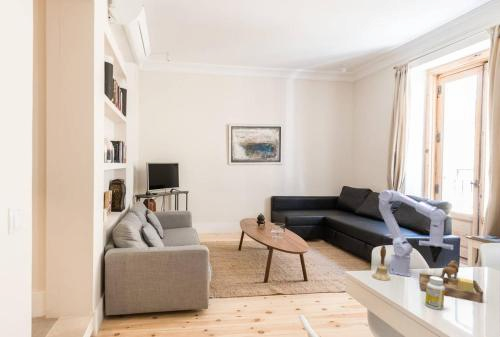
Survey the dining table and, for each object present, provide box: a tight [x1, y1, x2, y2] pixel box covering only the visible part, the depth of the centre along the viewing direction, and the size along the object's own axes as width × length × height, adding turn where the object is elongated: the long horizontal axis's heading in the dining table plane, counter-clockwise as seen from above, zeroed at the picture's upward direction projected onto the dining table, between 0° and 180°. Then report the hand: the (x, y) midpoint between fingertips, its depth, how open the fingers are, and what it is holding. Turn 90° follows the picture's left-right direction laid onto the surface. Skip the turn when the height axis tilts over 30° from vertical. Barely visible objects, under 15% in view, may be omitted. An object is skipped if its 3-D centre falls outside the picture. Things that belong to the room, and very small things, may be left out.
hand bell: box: [371, 245, 391, 282], centre depth 162 cm, size 8×8×16 cm
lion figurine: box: [440, 260, 460, 279], centre depth 165 cm, size 15×5×9 cm, turn 132°
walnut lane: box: [418, 272, 484, 304], centre depth 150 cm, size 23×16×4 cm
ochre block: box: [457, 277, 474, 292], centre depth 148 cm, size 5×5×4 cm
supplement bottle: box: [425, 275, 445, 310], centre depth 132 cm, size 6×6×11 cm
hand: (434, 261), depth 161 cm, fingers closed
